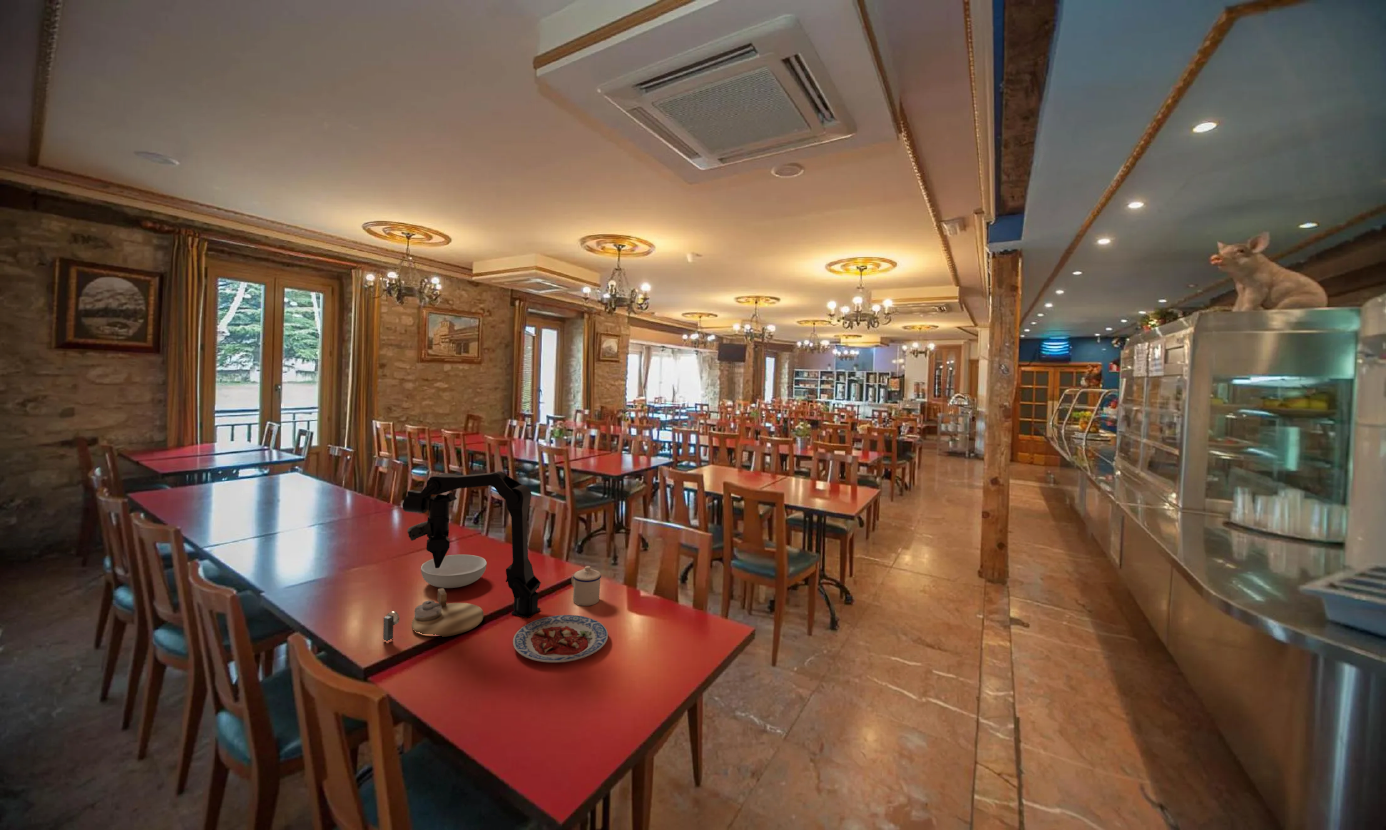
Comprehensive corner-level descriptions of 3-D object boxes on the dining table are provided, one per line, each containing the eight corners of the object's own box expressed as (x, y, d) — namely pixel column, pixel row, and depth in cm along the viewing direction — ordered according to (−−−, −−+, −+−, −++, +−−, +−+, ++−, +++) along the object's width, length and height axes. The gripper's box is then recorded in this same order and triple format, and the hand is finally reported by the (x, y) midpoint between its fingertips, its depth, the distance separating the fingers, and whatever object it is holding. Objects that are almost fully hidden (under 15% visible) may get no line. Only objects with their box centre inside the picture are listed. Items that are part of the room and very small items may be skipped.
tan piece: (497, 613, 154) (497, 598, 154) (449, 642, 136) (449, 625, 136) (444, 601, 161) (444, 585, 160) (391, 627, 143) (392, 610, 142)
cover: (446, 613, 150) (447, 600, 150) (427, 623, 144) (428, 609, 143) (428, 608, 152) (428, 595, 152) (408, 618, 146) (409, 605, 146)
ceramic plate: (508, 674, 125) (509, 662, 125) (516, 624, 150) (516, 615, 150) (612, 664, 132) (612, 653, 132) (603, 619, 157) (603, 609, 157)
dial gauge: (398, 640, 137) (399, 612, 137) (390, 644, 135) (391, 616, 134) (388, 637, 138) (389, 609, 138) (380, 641, 136) (381, 613, 135)
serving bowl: (469, 597, 166) (470, 577, 165) (407, 593, 166) (407, 573, 166) (495, 573, 187) (496, 555, 186) (440, 570, 187) (440, 552, 187)
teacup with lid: (605, 600, 169) (607, 566, 169) (584, 609, 162) (586, 574, 161) (581, 590, 177) (583, 557, 176) (561, 598, 169) (562, 564, 169)
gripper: (411, 508, 162) (409, 555, 163) (407, 524, 145) (406, 576, 146) (449, 506, 167) (447, 552, 168) (450, 521, 150) (448, 572, 151)
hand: (437, 562), depth 158 cm, fingers open, 9 cm apart
